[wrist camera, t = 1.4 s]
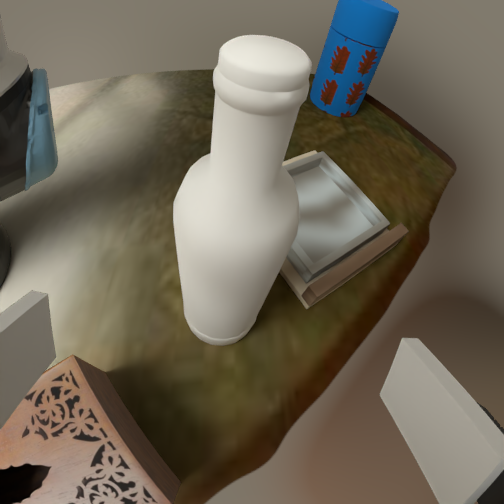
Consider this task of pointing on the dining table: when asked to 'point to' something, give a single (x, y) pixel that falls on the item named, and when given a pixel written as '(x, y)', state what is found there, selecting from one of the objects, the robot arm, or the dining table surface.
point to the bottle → (241, 189)
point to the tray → (332, 229)
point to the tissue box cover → (79, 445)
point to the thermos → (352, 54)
